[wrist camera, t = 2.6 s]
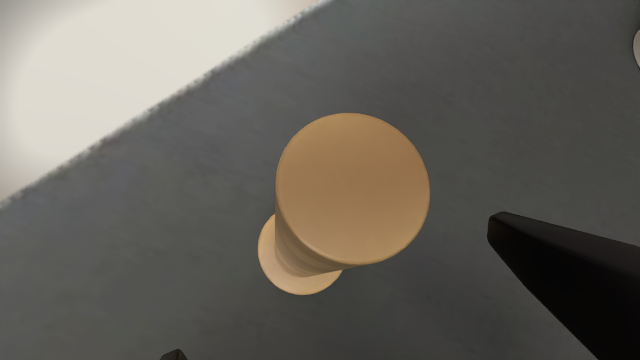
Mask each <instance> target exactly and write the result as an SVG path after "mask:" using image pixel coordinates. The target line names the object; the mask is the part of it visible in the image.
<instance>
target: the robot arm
mask: <svg viewBox="0 0 640 360" xmlns="http://www.w3.org/2000/svg"><path fill="white" fill-rule="evenodd" d="M487 239H488V242H489V244H490V245H491V246H492V248H493V249H494V250H495V251H496V252H497V254H498V255H499V256H500V257H501V259H502V260H503V261H504V262H505V263H506V265H507V266H508V267H509V268H510V269H511V271H512V272H513V273H514V274H515V275H516V277H517V278H518V279H519V280H520V281H521V282H522V284H523V285H524V286H525V287H526V288H527V289H528V290H529V291H530V292H531V293H532V294H533V295H534V296H535V297H536V298H537V299H538V300H539V301H540V302H541V303H542V304H543V305H544V306H545V307H546V308H547V309H548V310H549V311H550V312H551V313H552V314H553V315H554V316H555V317H556V318H557V319H558V320H559V321H560V322H561V323H562V324H563V325H564V326H565V327H566V328H567V329H568V330H569V331H570V332H571V333H572V334H573V335H574V336H575V337H576V338H577V339H578V340H579V341H580V342H581V343H582V344H583V345H584V346H585V347H586V348H587V349H588V350H589V351H590V352H591V353H592V354H593V355H594V356H595V357H596V358H597V359H598V360H640V247H639V246H635V245H631V244H627V243H623V242H619V241H616V240H612V239H608V238H604V237H600V236H596V235H593V234H589V233H585V232H581V231H577V230H573V229H570V228H566V227H562V226H558V225H554V224H550V223H547V222H543V221H539V220H535V219H531V218H527V217H524V216H520V215H516V214H512V213H508V212H499V213H497V214H494V215H492V216H491V217H490V218H489V223H488V233H487ZM160 360H187V358H186V356H185V355H184V353H183V352H182V351H181V350H180V349H176V350H173V351H171V352H169V353H166V354H164V355H163V356H162V357H161V358H160Z"/></svg>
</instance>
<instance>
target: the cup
mask: <svg viewBox="0 0 640 360" xmlns="http://www.w3.org/2000/svg"><path fill="white" fill-rule="evenodd" d="M633 51H634V55H635V59H636V61H637V63H638V65H639V67H640V30H639V31H638V32H637V33H636V35H635V38H634V42H633Z"/></svg>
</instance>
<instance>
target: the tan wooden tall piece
mask: <svg viewBox="0 0 640 360" xmlns="http://www.w3.org/2000/svg"><path fill="white" fill-rule="evenodd" d="M429 202H430V184H429V178H428V173H427V170H426V167H425V164H424V162H423V160H422V158H421V156H420V154H419V153H418V151H417V150H416V148H415V147H414V145H413V144H412V143H411V142H410V140H409V139H408V138H407V137H406V136H405V135H404V134H403V133H401V132H400V131H399V130H397V129H396V128H395V127H393V126H392V125H390V124H388V123H387V122H385V121H382V120H380V119H378V118H375V117H372V116H369V115H364V114H358V113H339V114H333V115H329V116H326V117H322V118H320V119H318V120H315V121H313V122H312V123H310V124H308V125H307V126H305V127H304V128H303V129H301V130H300V131H299V132H298V133H297V134H296V135H295V136H294V137H293V138H292V139H291V140H290V142H289V143H288V145H287V146H286V148H285V150H284V152H283V153H282V155H281V158H280V161H279V164H278V168H277V173H276V184H275V214H274V215H272V216H271V217H270V218H269V220H268V221H267V222H266V224H265V225H264V227H263V229H262V231H261V234H260V236H259V241H258V258H259V262H260V265H261V268H262V270H263V272H264V273H265V275H266V276H267V278H268V279H269V280H270V281H271V282H272V283H273V284H274V285H275V286H277V287H278V288H280V289H281V290H283V291H286V292H288V293H292V294H297V295H308V294H313V293H317V292H319V291H322V290H324V289H325V288H327V287H329V286H330V285H331V284H332V283H333V282H334V281H335V280H336V279H337V278H338V277H339V275H340V274H341V272H342V270H344V269H349V268H354V267H358V266H363V265H368V264H373V263H377V262H381V261H383V260H386V259H388V258H391V257H392V256H394V255H396V254H397V253H399V252H401V251H402V250H403V249H404V248H406V247H407V246H408V245H409V244H410V243H411V242H412V241H413V240H414V238H415V237H416V236H417V234H418V233H419V231H420V230H421V228H422V226H423V224H424V222H425V219H426V216H427V213H428V208H429Z"/></svg>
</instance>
